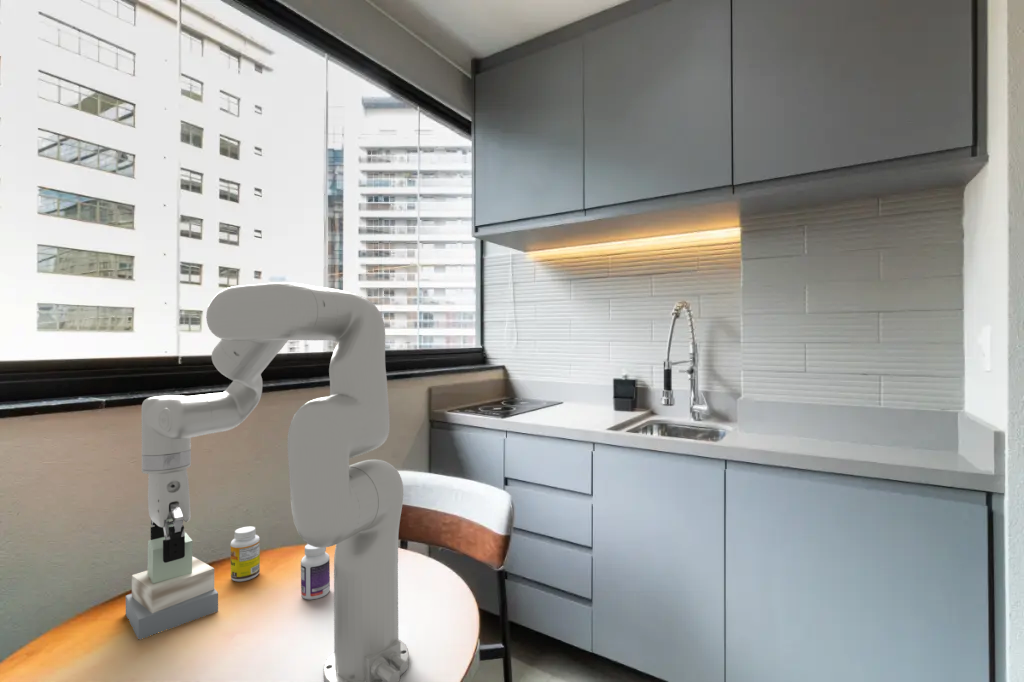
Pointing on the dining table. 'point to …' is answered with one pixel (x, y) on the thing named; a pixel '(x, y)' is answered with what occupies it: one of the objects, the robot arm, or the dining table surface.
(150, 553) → the sage block
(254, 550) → the supplement bottle
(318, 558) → the pill bottle
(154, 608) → the top block
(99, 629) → the dining table surface
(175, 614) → the base block
